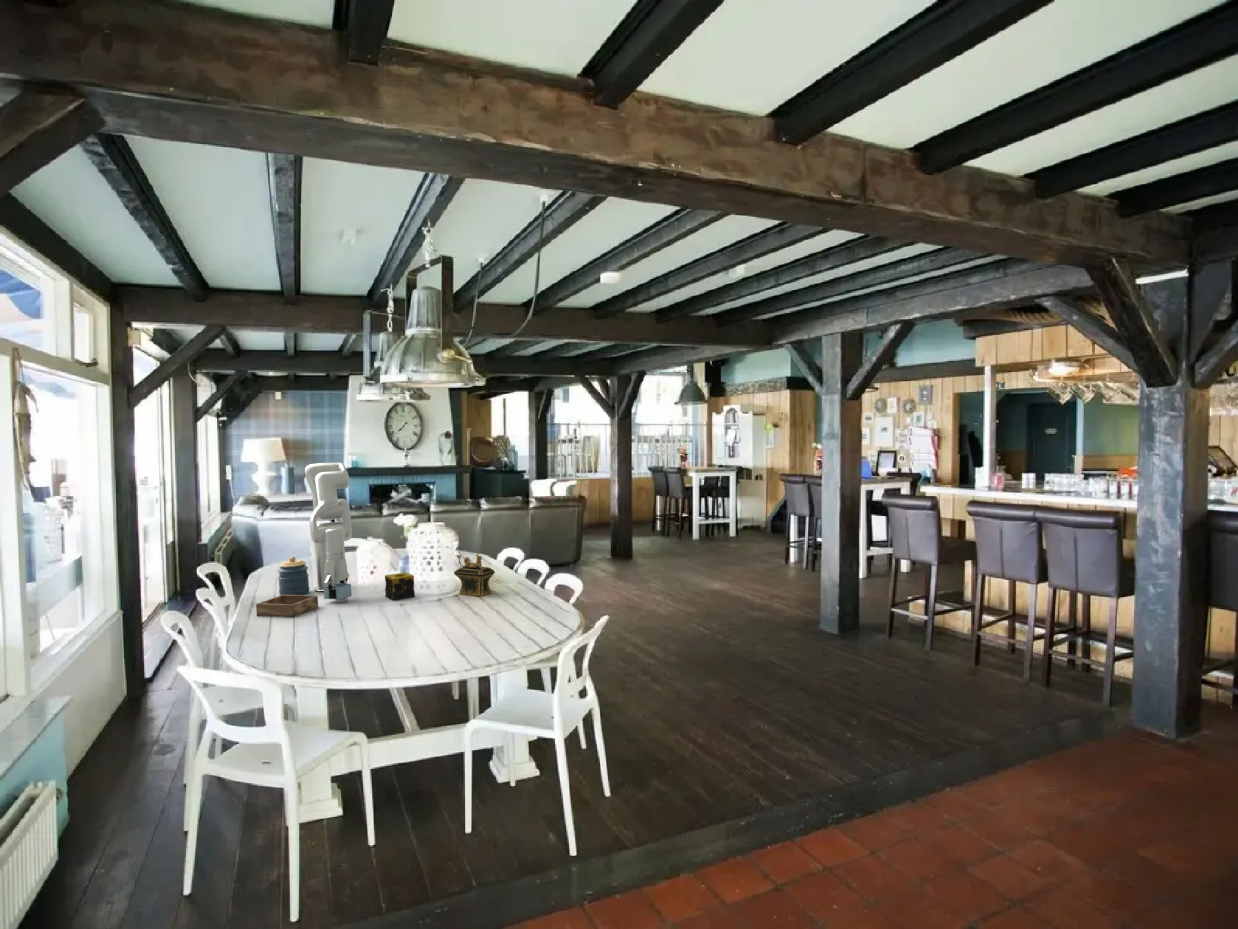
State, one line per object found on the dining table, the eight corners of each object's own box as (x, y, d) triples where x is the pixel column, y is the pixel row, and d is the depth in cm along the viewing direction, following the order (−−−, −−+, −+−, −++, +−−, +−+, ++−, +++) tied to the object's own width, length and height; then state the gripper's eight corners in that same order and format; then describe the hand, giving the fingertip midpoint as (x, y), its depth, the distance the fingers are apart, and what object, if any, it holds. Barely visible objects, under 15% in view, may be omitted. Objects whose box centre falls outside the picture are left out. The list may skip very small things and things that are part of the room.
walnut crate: (283, 606, 311) (283, 594, 311) (318, 607, 307) (317, 595, 306) (256, 615, 296) (256, 603, 296) (292, 617, 292) (291, 605, 291)
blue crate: (333, 595, 320) (333, 582, 319) (351, 596, 317) (350, 583, 317) (324, 598, 313) (323, 586, 313) (342, 599, 311) (341, 587, 311)
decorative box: (497, 592, 322) (495, 549, 321) (482, 597, 313) (480, 552, 312) (463, 589, 332) (461, 546, 331) (448, 593, 324) (446, 550, 322)
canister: (305, 589, 343) (302, 553, 342) (313, 594, 333) (311, 556, 332) (275, 594, 335) (273, 557, 334) (283, 599, 325) (281, 560, 324)
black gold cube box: (385, 597, 321) (383, 575, 321) (407, 593, 327) (405, 571, 327) (393, 601, 313) (391, 578, 312) (415, 597, 319) (414, 575, 318)
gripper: (340, 551, 323) (343, 590, 325) (315, 559, 306) (317, 601, 308) (355, 552, 321) (357, 591, 323) (330, 560, 304) (332, 602, 306)
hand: (338, 595), depth 315 cm, fingers closed on blue crate, 6 cm apart
